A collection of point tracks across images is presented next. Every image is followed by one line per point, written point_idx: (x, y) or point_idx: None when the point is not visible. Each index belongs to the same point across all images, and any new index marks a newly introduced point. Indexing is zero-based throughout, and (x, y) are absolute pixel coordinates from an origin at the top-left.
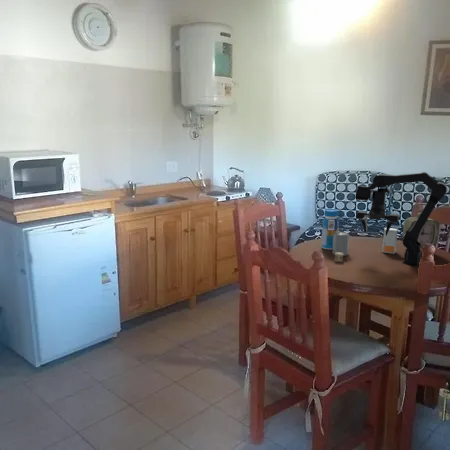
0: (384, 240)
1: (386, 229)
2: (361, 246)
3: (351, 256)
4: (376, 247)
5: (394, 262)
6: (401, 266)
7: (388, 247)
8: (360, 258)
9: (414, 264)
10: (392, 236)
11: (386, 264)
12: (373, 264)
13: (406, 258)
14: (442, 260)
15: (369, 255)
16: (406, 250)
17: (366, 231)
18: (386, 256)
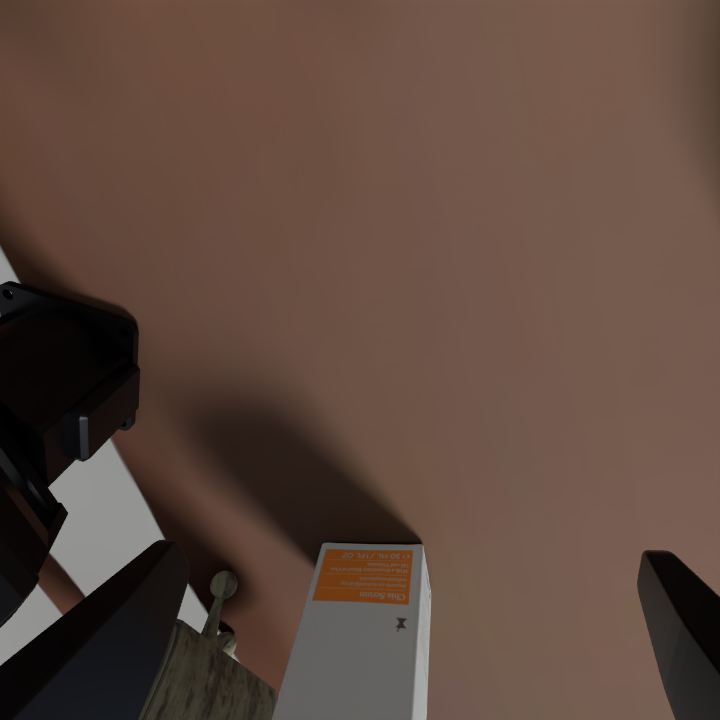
0: (401, 656)
1: (44, 675)
2: (641, 628)
3: (712, 255)
4: (507, 639)
5: (200, 300)
6: (78, 195)
7: (364, 587)
8: (574, 233)
9: (13, 300)
10: (309, 712)
11: (222, 167)
12: (341, 47)
13: (84, 358)
14: None
15: (502, 407)
16: (33, 416)
17: (661, 601)
18: (346, 451)
